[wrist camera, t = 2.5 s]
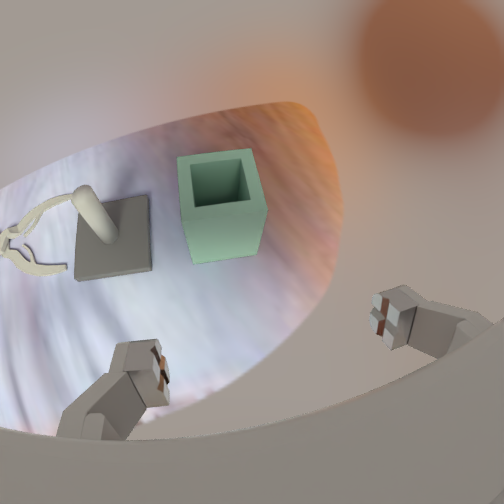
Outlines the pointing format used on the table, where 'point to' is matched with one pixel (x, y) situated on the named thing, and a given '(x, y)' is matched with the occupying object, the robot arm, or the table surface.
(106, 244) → the post stand
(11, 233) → the pliers
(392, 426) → the robot arm
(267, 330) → the table surface
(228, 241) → the sleeve
